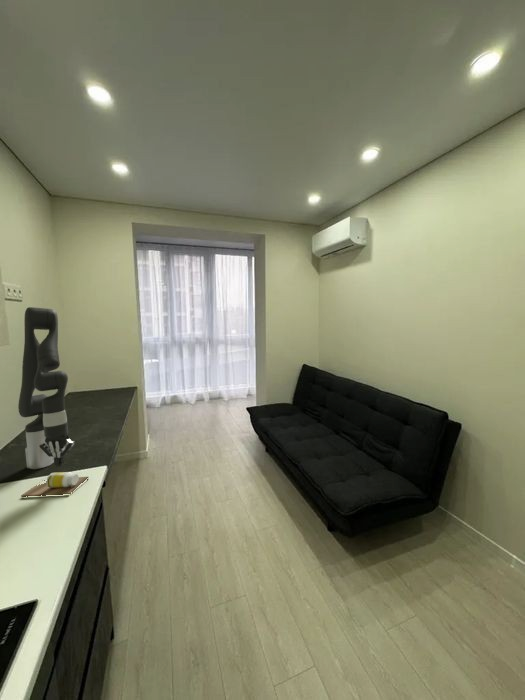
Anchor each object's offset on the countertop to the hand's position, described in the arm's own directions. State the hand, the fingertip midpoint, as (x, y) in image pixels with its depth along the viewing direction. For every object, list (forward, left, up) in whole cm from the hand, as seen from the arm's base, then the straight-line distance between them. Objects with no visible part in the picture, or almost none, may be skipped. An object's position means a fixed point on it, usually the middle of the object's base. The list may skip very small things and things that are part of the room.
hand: (59, 466), depth 113 cm
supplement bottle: (-4, -1, -5) cm, 6 cm away
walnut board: (-2, 0, -9) cm, 9 cm away
